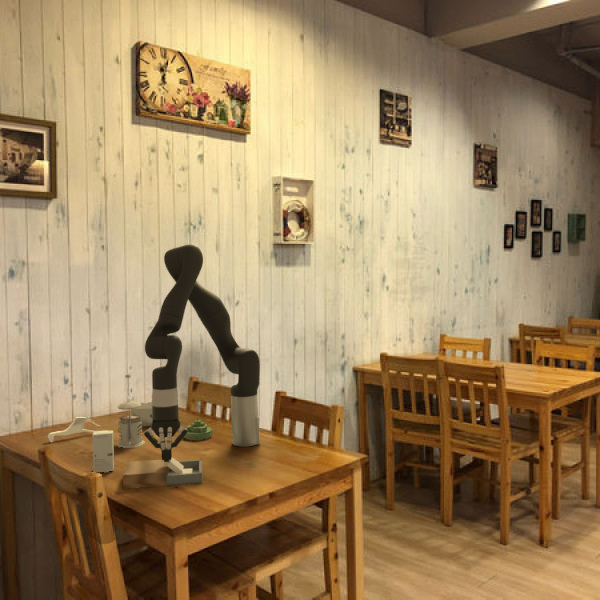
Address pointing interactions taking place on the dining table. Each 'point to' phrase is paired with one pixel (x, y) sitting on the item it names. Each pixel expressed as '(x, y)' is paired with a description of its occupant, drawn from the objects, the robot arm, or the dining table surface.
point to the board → (145, 474)
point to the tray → (187, 478)
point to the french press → (129, 425)
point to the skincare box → (103, 451)
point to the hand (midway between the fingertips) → (166, 461)
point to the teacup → (144, 413)
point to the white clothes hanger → (73, 428)
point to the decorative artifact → (198, 431)
